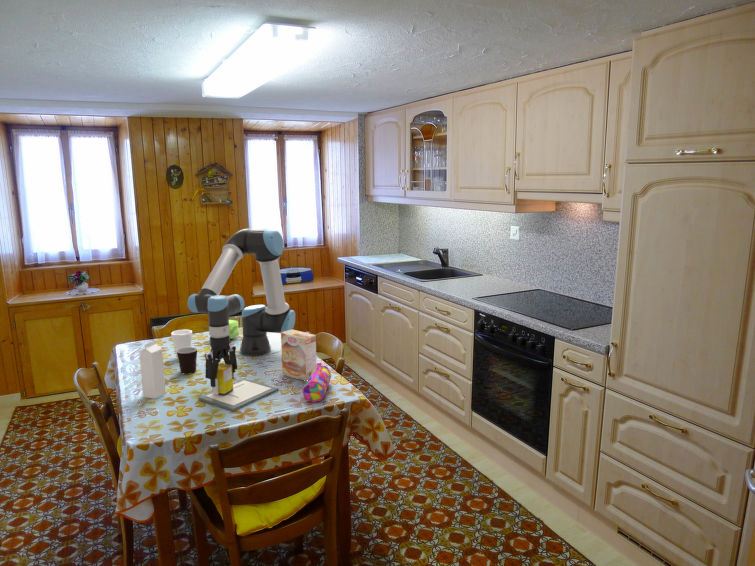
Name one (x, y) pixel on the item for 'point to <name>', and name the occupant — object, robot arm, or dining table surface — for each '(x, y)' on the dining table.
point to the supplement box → (224, 379)
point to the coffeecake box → (298, 353)
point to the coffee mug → (187, 359)
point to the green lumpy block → (233, 329)
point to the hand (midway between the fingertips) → (222, 390)
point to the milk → (152, 371)
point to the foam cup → (181, 339)
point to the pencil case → (317, 383)
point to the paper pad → (239, 395)
